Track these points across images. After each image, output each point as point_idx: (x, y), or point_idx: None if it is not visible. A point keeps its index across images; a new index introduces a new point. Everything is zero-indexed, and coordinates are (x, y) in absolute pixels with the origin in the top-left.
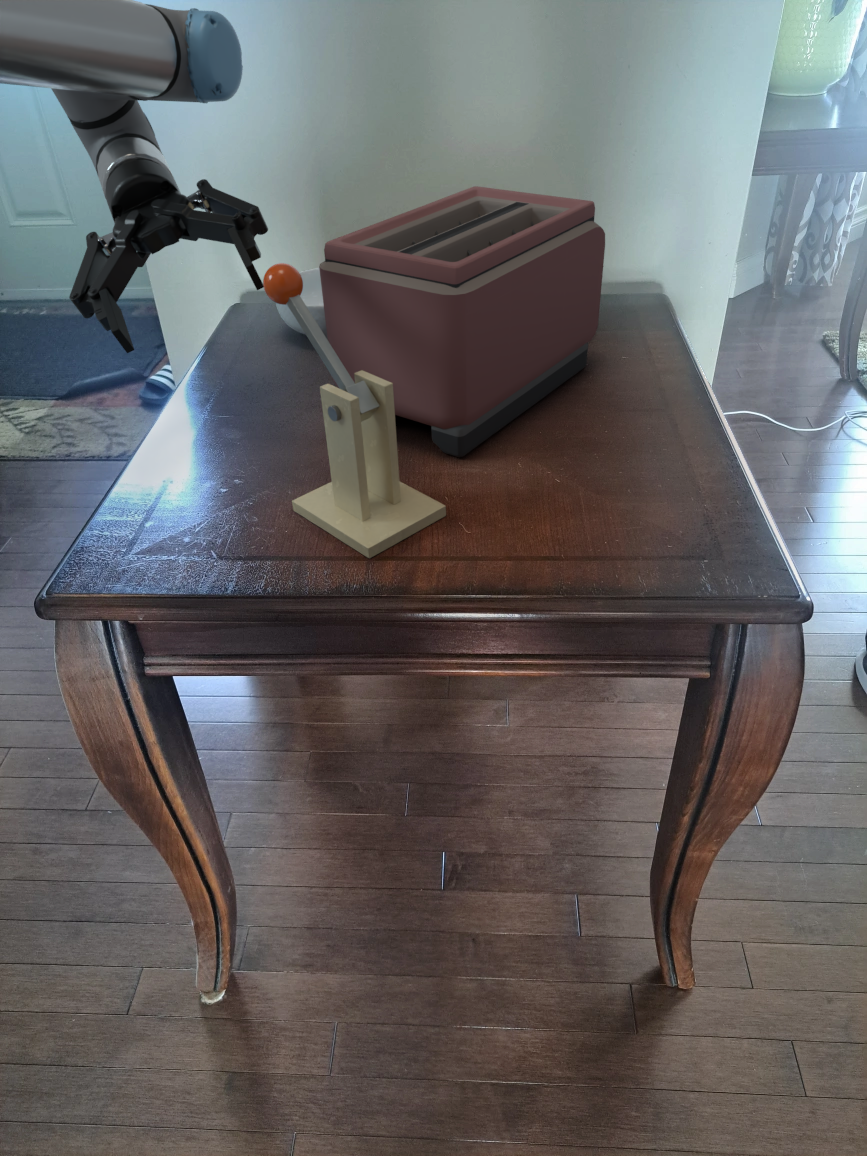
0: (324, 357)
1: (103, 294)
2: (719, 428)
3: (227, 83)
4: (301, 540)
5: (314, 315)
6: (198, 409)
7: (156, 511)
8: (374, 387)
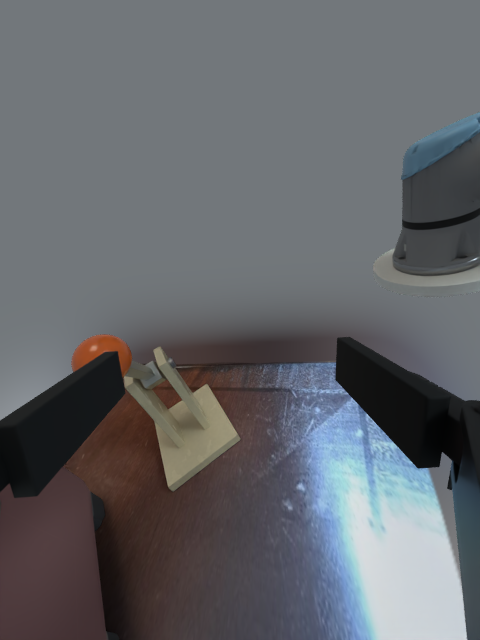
0: (143, 367)
1: (421, 385)
2: None
3: None
4: (240, 405)
5: None
6: None
7: (361, 454)
8: None
